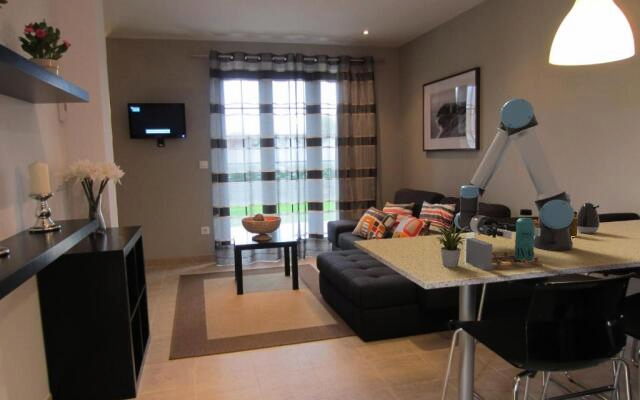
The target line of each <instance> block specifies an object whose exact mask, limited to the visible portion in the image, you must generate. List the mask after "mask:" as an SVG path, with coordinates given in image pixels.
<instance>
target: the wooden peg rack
mask: <svg viewBox="0 0 640 400" xmlns="http://www.w3.org/2000/svg"><path fill="white" fill-rule="evenodd" d="M496 254H497V253H496V252H492V255H493V256H494V258H492V262H496V263H492V270H493V271H494V270H509V268H510V269H521V268H535V267H543V261H541V260H540V261H539V259H540V258H539V257H533V261H526V259H525V258H522V260H521V262H515V261H518V260H517V259H515V257H514V256H515V255H514V254H513V255H508V252H507V251H503V255H496ZM501 262H511V264H509V265H503V264H501Z"/></svg>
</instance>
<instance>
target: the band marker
mask: <svg viewBox="0 0 640 400" xmlns="http://www.w3.org/2000/svg"><path fill="white" fill-rule="evenodd" d="M492 258H494V256H493V255H492ZM501 264H503V265H509V264H511V262H509V261H501Z"/></svg>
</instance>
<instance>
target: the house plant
mask: <svg viewBox="0 0 640 400" xmlns="http://www.w3.org/2000/svg"><path fill="white" fill-rule="evenodd" d="M432 225H433V226H434V227H435V231H436V232H437V233H439V235H440V236H441V237H440V236H438V237H436V238H434V239H435V240H437V242H438V241H439V245H441V244H443V246H441V247H440V254H441V255H440V256H441V260H442V266H443V267H447V268H457V267H458V266H459V263H460V257H461V256H460V255H461V250H462V248H461V247H458V246H459V245H460V244H461V245H463V244H464V243H463V242H464V241H465V242H466V240H463V239H465V237H462V236H460V234H461V233H462V232H463V231H464V229H465V228H466V227H465V228H463V229H460V231H458V232H457V227H456V225H455V226H454V227H453V225H454V222H452V224H451V226H450V229H449V230H448V229H447V226H446V225H445V224H444V223H443V222H442V223H441V227H439V226H437V225H436V224H433V223H432ZM467 227H468V226H467ZM437 229H438V230H437ZM456 232H457V233H456Z"/></svg>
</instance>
